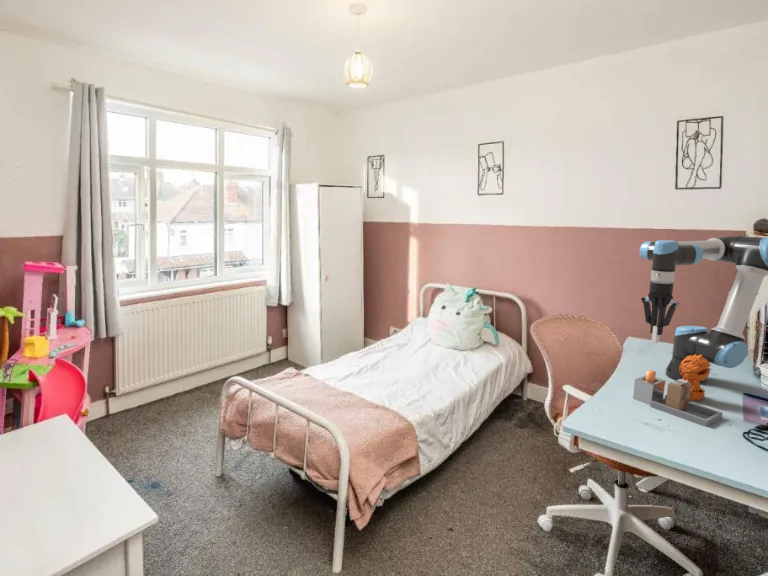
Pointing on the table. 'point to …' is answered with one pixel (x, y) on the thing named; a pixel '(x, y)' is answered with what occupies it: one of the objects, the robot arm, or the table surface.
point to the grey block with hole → (648, 390)
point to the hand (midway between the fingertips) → (655, 342)
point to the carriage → (678, 394)
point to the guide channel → (705, 422)
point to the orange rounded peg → (650, 376)
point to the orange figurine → (695, 374)
